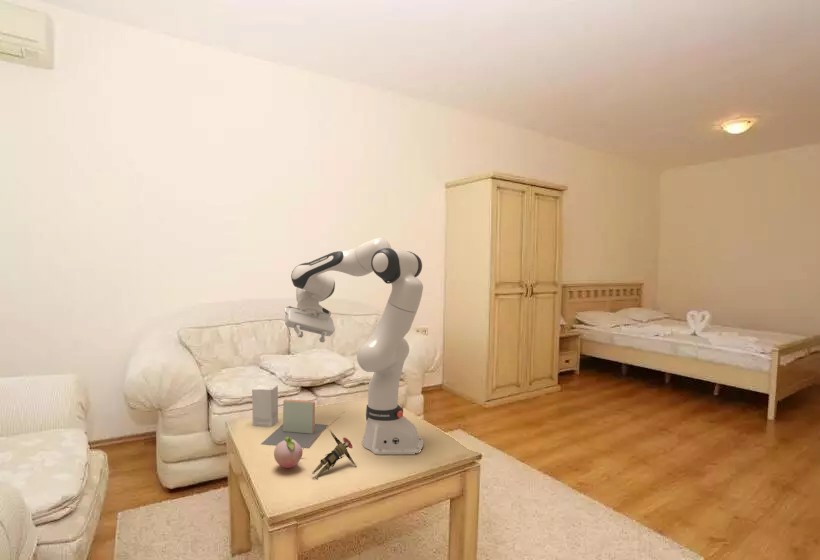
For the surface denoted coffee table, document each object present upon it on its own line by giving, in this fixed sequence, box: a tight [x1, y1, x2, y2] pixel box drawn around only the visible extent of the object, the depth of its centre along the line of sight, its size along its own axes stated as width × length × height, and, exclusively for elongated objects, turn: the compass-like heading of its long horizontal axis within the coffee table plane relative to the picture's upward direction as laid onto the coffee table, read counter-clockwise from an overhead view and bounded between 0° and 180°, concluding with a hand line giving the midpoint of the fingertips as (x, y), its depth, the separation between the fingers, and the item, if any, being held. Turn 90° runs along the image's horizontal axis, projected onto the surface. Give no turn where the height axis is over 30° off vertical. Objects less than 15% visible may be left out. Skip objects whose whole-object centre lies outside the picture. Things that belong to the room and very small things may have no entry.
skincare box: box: [251, 384, 279, 428], centre depth 168 cm, size 8×7×16 cm
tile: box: [282, 398, 316, 434], centre depth 161 cm, size 12×2×12 cm, turn 83°
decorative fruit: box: [273, 437, 304, 469], centre depth 134 cm, size 9×8×10 cm
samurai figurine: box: [299, 411, 357, 480], centre depth 136 cm, size 16×10×20 cm
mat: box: [260, 423, 329, 449], centre depth 160 cm, size 18×22×1 cm
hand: (311, 338), depth 161 cm, fingers open, 8 cm apart
